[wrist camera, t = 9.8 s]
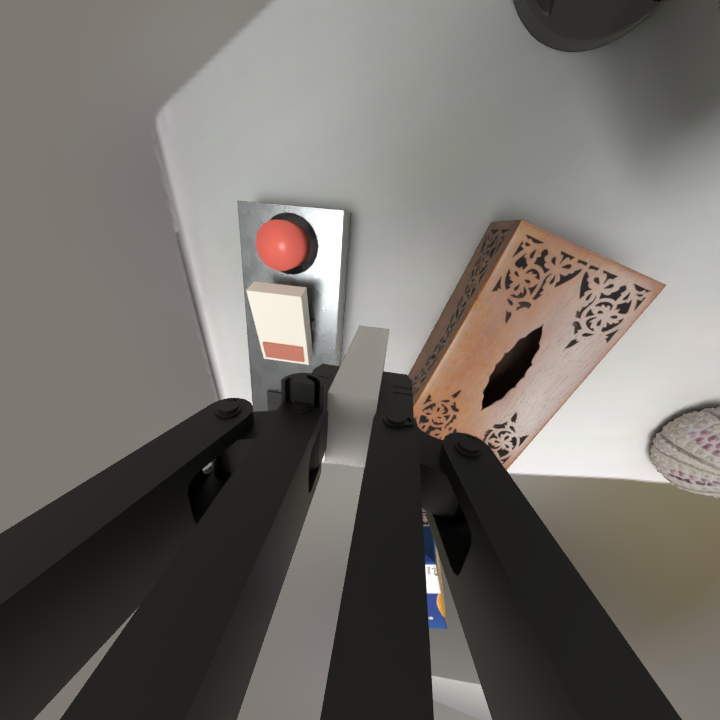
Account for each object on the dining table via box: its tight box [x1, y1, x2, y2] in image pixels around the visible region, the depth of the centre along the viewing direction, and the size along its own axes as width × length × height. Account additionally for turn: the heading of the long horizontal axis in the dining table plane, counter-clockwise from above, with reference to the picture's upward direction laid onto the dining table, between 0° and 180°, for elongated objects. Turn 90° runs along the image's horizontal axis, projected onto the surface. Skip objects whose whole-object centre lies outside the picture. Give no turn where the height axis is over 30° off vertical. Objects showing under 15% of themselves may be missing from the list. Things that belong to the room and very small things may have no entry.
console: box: [237, 201, 351, 412], centre depth 40 cm, size 32×12×6 cm, turn 175°
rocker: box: [246, 281, 313, 365], centre depth 35 cm, size 10×6×2 cm, turn 174°
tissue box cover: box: [408, 220, 666, 470], centre depth 36 cm, size 26×14×10 cm, turn 158°
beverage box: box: [422, 508, 447, 629], centre depth 39 cm, size 7×11×22 cm, turn 12°
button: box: [256, 220, 310, 271], centre depth 32 cm, size 5×5×3 cm
